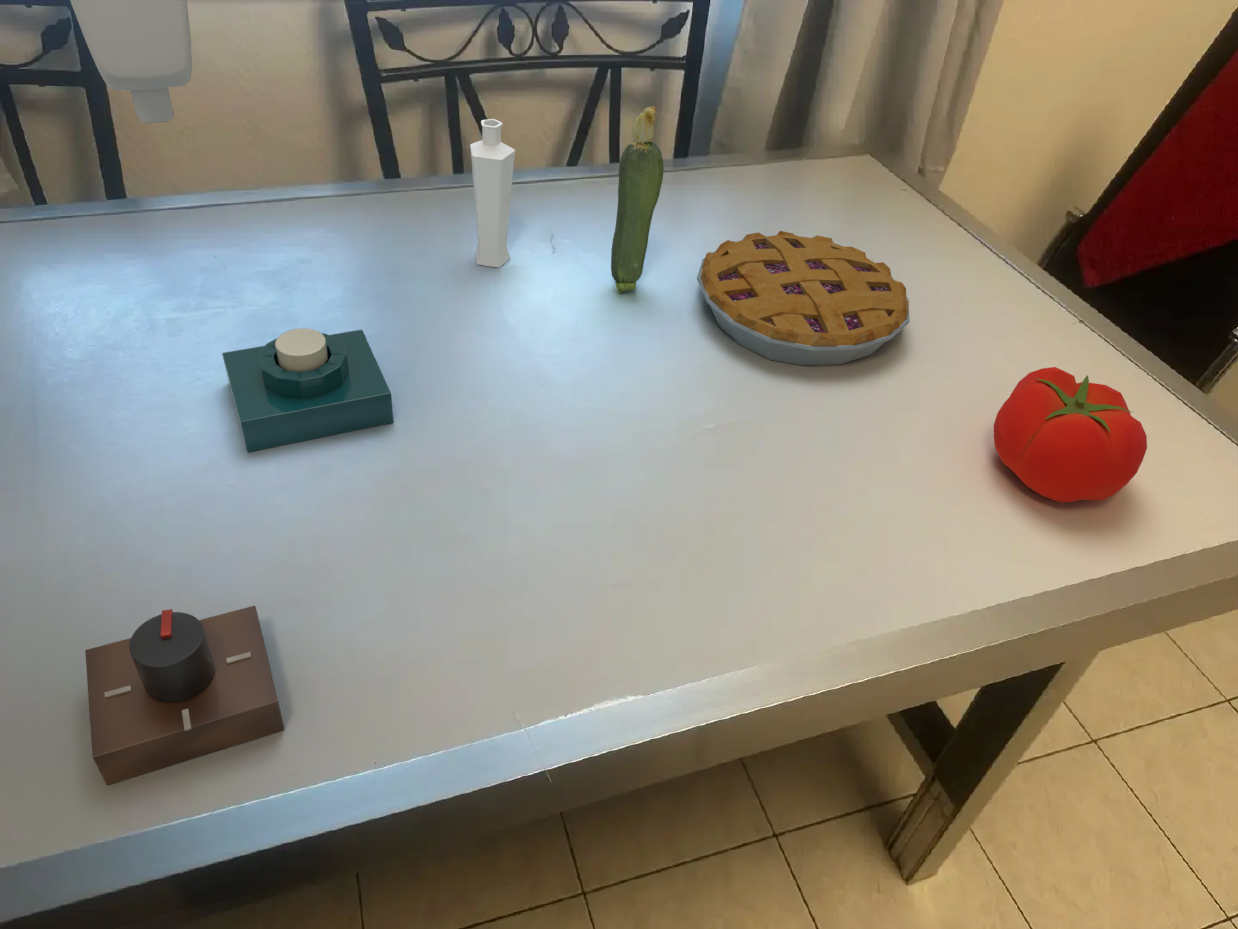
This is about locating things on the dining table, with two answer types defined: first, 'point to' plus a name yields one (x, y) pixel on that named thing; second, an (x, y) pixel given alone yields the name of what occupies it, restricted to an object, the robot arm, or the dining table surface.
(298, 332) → the cream push button
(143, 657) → the dial
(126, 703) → the dial panel
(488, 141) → the perfume bottle
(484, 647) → the dining table surface
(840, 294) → the pie
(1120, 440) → the tomato
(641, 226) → the vegetable
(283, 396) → the teal push button box
